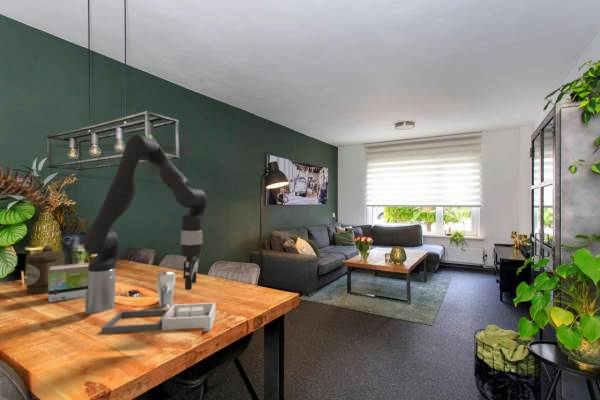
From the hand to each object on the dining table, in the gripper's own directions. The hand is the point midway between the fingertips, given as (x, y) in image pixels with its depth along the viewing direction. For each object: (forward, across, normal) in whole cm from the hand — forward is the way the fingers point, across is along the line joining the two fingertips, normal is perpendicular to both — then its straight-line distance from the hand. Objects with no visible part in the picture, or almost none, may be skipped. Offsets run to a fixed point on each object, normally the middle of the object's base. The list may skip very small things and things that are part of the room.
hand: (190, 286), depth 110 cm
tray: (+14, 0, -18) cm, 23 cm away
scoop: (+13, 0, 0) cm, 13 cm away
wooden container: (+15, -54, -80) cm, 98 cm away
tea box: (+15, -40, -62) cm, 76 cm away
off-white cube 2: (+12, 0, +2) cm, 13 cm away
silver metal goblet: (+14, -18, -13) cm, 27 cm away
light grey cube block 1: (+13, 0, -2) cm, 13 cm away
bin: (+14, 0, 0) cm, 14 cm away
